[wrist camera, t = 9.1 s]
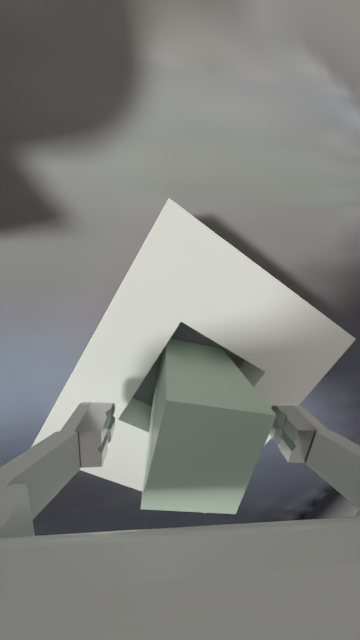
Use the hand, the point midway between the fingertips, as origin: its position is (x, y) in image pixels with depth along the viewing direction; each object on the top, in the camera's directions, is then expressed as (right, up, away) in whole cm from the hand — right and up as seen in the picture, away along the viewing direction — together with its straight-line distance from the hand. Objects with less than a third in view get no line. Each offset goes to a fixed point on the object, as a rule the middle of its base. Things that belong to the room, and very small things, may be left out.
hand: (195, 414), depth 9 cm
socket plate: (0, +1, +4) cm, 4 cm away
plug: (0, +1, +3) cm, 4 cm away
